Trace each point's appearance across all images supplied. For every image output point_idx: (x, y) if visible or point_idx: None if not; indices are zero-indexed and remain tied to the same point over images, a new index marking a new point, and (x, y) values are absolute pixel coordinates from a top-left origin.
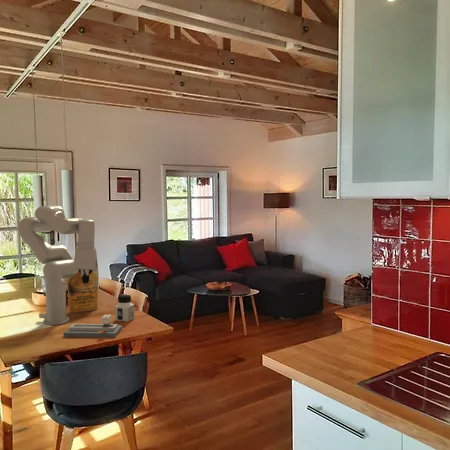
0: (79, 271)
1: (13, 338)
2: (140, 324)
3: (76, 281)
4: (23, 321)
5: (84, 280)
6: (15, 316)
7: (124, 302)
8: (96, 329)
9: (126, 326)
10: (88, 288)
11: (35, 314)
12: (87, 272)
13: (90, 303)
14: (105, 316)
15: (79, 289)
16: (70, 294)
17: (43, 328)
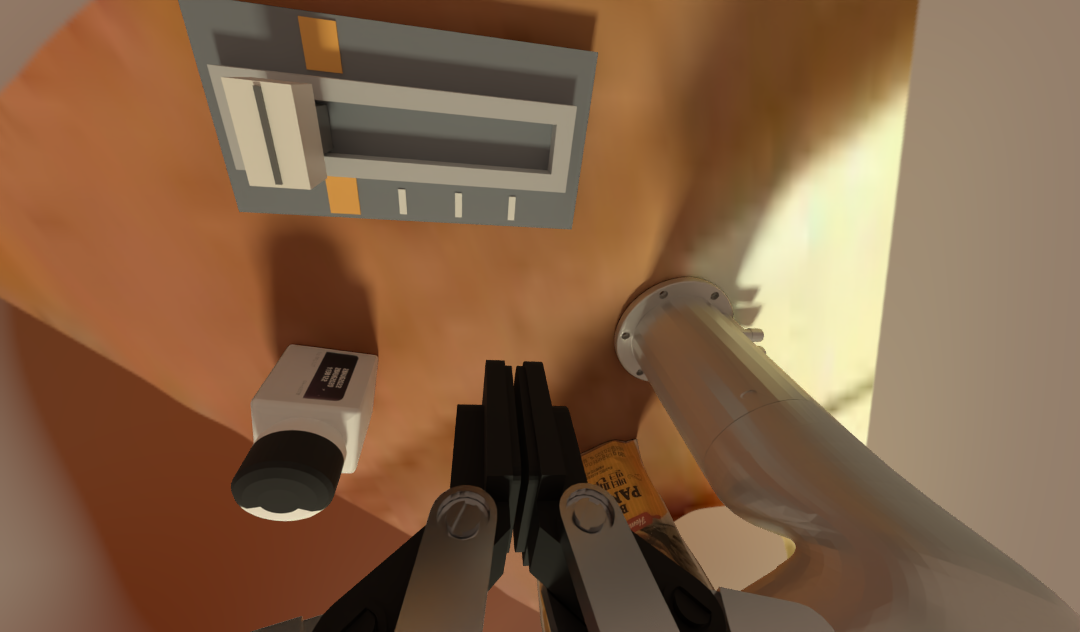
0: (687, 580)
1: (869, 49)
2: (179, 297)
3: None
4: (808, 330)
5: (521, 396)
6: (835, 386)
7: (275, 434)
8: (370, 82)
9: (253, 260)
10: None
11: None
12: (455, 568)
13: None
14: (263, 107)
15: None
16: (661, 519)
17: (721, 230)
